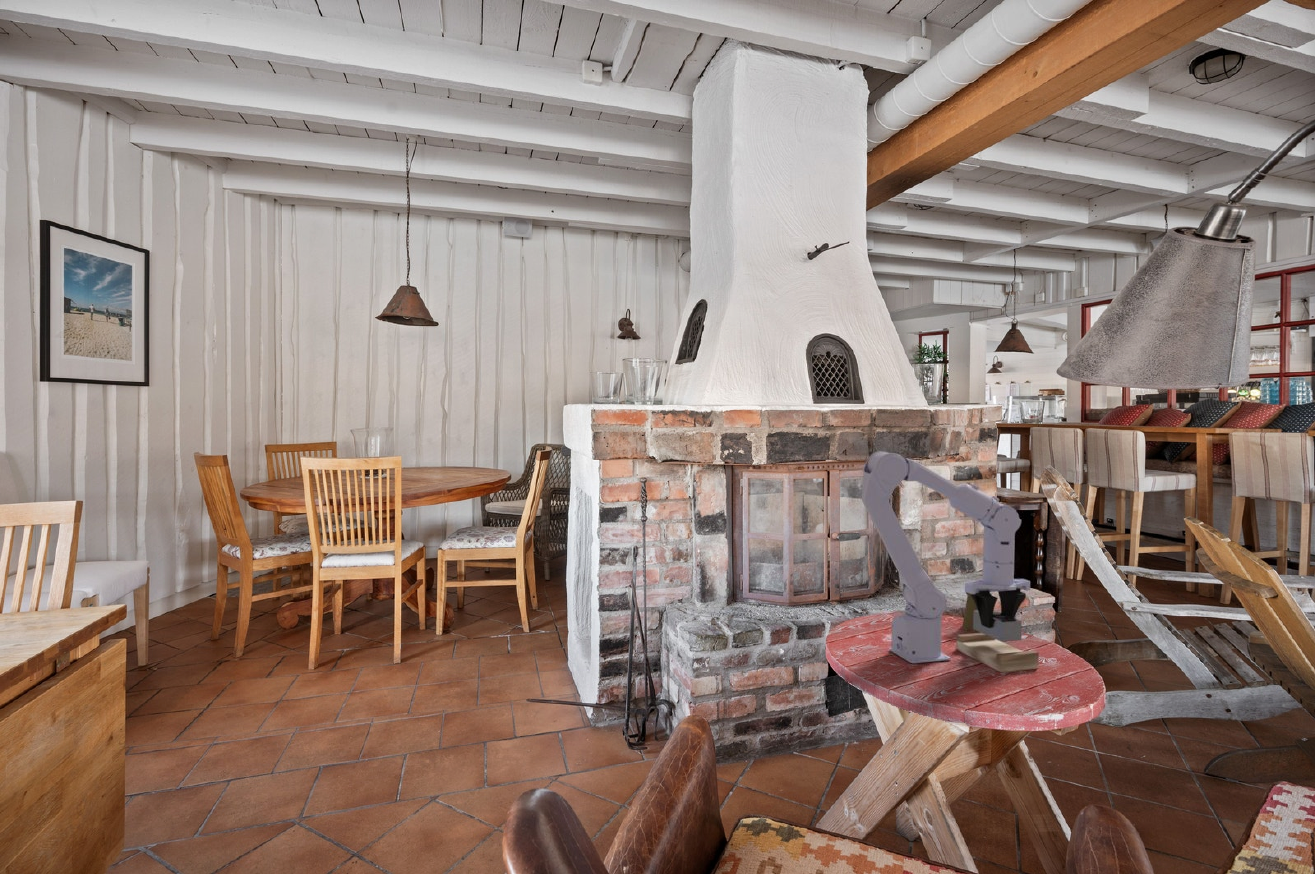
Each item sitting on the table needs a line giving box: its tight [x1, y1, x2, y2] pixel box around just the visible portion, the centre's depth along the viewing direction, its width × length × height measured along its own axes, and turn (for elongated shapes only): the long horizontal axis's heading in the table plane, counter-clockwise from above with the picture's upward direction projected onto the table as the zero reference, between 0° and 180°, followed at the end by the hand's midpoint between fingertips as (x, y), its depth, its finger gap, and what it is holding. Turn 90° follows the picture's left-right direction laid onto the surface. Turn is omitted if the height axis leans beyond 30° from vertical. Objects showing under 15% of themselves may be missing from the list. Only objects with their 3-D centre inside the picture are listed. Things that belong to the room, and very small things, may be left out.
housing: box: [973, 609, 1023, 643], centre depth 130 cm, size 8×5×4 cm, turn 14°
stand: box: [956, 632, 1040, 673], centre depth 130 cm, size 12×9×3 cm
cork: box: [961, 592, 981, 633], centre depth 148 cm, size 6×6×11 cm
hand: (996, 625), depth 130 cm, fingers closed on housing, 5 cm apart
